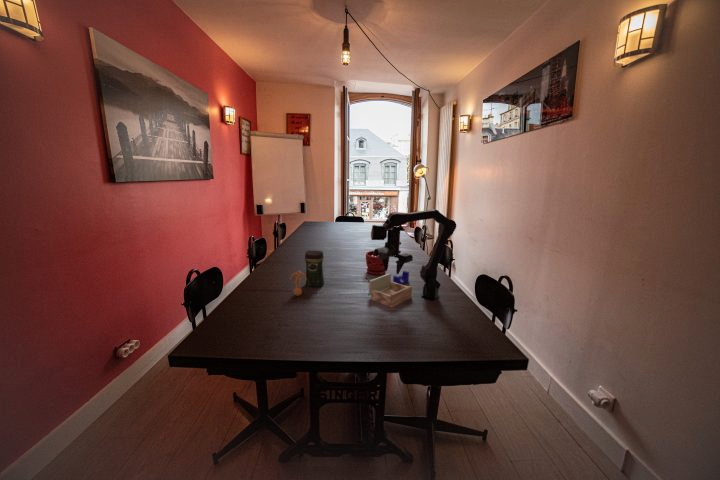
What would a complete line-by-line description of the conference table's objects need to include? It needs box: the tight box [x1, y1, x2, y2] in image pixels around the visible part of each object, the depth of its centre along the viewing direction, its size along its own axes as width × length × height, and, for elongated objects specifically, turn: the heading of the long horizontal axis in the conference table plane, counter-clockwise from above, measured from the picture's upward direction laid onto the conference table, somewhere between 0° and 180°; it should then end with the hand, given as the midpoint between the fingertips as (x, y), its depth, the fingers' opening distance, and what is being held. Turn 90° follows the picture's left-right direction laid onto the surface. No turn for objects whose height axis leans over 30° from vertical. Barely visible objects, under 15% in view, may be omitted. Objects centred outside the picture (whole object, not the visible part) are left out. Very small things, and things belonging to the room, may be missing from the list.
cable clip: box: [392, 270, 410, 285], centre depth 161 cm, size 12×4×6 cm, turn 144°
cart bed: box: [370, 280, 413, 308], centre depth 141 cm, size 12×16×6 cm
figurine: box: [289, 270, 307, 297], centre depth 142 cm, size 8×6×12 cm
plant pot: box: [365, 250, 387, 275], centre depth 177 cm, size 13×13×12 cm
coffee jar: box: [304, 249, 325, 288], centre depth 155 cm, size 10×8×19 cm
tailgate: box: [367, 273, 392, 297], centre depth 145 cm, size 2×16×8 cm, turn 137°
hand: (391, 272), depth 139 cm, fingers open, 6 cm apart
